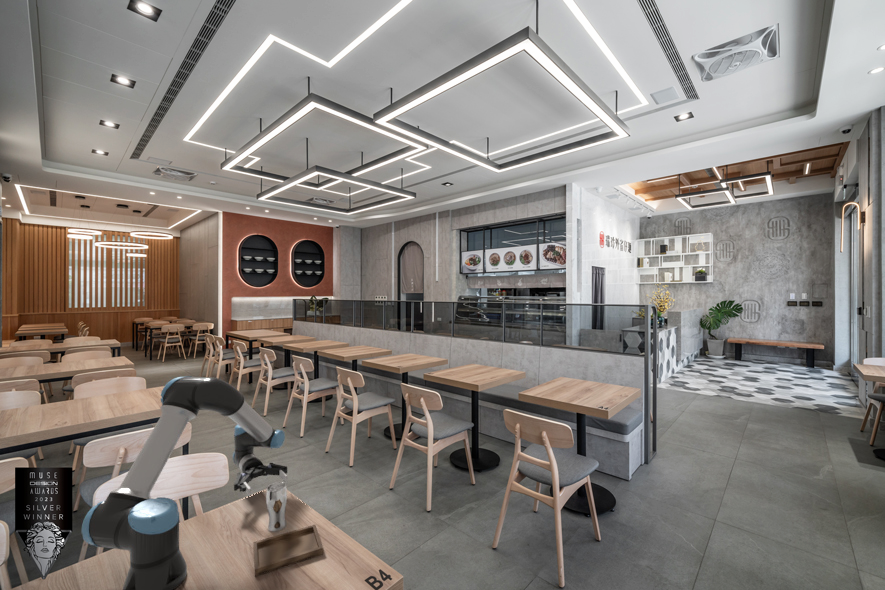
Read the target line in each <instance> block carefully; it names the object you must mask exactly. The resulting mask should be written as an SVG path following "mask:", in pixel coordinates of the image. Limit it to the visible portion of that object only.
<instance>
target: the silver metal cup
mask: <svg viewBox="0 0 885 590" xmlns="http://www.w3.org/2000/svg"><path fill="white" fill-rule="evenodd" d="M265 493H266V494H265V502H266V503H265V504H266V509H267V513H268V524H267V530H268V531H269V532H271V533H272V532H273V533H274V532H275V533H276V532H279V531H281V530H283V529H285V528H286V527H287V520H286V508H287V501H288V491H287V484H286V483H285V482H284V481H276V482H272V483H270V484H268V485H267V486H266V491H265Z"/></svg>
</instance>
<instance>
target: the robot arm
mask: <svg viewBox="0 0 885 590" xmlns="http://www.w3.org/2000/svg"><path fill="white" fill-rule="evenodd" d="M160 397H161V398H160V403H161V406H160V411H161V415H160V417H159V418H158V421H157V422H156V424H155V426H154V427H153V429H152V431H151V433H150V435H148V438H147V439H146V441H145V443H144V444H143V446H142V448H141V450H140V452H139V453H138V454H137V456H136V458H135V460H134V462H133V463H132V465H131V467H130V468H129V470H128V472H127V473H126V475H125V477H124V479H123V481H122V482H121V484H120V486H119V487H117V488H116V489H113V490H112V491H110V492H109V494H108V495H107V497H106V499H105V500H102V501H99V502H98V503H97V504H96V505H93V506H92V507H91V508H90V509H89V511H88V512H87V513H86V515H84V519H83V522H82V525H81V535H82V539H83V541H85V543H87V544H88V545H91V546H95V547H96V548H97V547H98V548H109V549H114V550H115V549H116V550H123V551H129V562H130V563H129V565H130V567H129V568H128V571H127V574H126V578H125V580H124V584H123V586H122V590H173V589H174V590H175V589H177V587H179V586H180V585H181V584H182V583H183V582H184V581H185V579H186V577H187V573H188V572H187V571H188V568H187V567H188V566H187V562H186V560H185V558H184V556H183V554H182V551H181V550H180V512H179V507H178V503H177V502H176V500H173V498H169V497H165V496H162V497H156V498H153V497H152V496H151V492H152V490H153V489H154V486H155V484H157V483H156V482H157V481H158V479H159V477H160V475H161V473H162V472H163V470H164V468H165V466H166V464H167V462H168V460H169V458H170V456H171V455H172V453H173V451H174V450H175V449H174V448H175V447H176V446H177V444H178V442H179V440H180V437H181V436H182V433H183V432H184V431H185V429H186V427H187V424H188V423H189V422H190V421H191V420H193V419H195V418H197V415H199V414H198V413H199V412H200V411H209V412H210V411H211V412H215V413H218V414H220V415H221V416H223V417H228V418H229V419H231V420H232V421H233V422H234V423H236V425H235V426H234V435H233V438H234V452H233V453H232V461H233V463H234V465H235V466H236V468H238V469H239V470H240V472H237V475H236V476H237V477H236V479H235V481H234V483H233V491H235V492H236V491H238V490H239V492H242V493H243V492H245V493H246V495H247V496H248V497H250V496H251V495H252V489H251V486H250V485H249V483H250V482H251V481H253V479H256V478H258V477H266V476H279V478H280V479H281V480H282V482H284V483H288V466H285V465H282V464H276V463H274V462H269V464H268V465H265V464H263V462H262V461H261V460H260V459H259V458H258V456H257V455H255V451H254V450H255V448H265V449H280V448H281V447H282V446H283V445H284V442H285V439H286V435H285V432H284V430H282V429H275V428H274V427H272V426H271V425H270V423H268V422H267V421H266V420H265V419H264V418H263V417H262V416H261V415H260V414H259V413H258V412H257V411H255V409H254V408H253V407H252V406H251V405H249V404H248V402H246V400H245V395H244V394H242V392H240V390H238V389H237V388H236V387H234V386H233V385H232V384H230V383H229V382H227V381H225V380H223V379H221V378H217V377H213V376H212V377H211V376H207V377H205V376H192V375H185V376H178V377H174V378H173V379H170V380H169V381H168V382H167V383H165V385H164V387H163V388H162V390H161V392H160Z"/></svg>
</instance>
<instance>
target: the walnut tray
mask: <svg viewBox="0 0 885 590" xmlns="http://www.w3.org/2000/svg"><path fill="white" fill-rule="evenodd" d="M252 544H253V563H254V577H258V576H261V575H265V574H267V573H270V572H273V571H277V570H280V569H283V568H285V567H289V566H292V565H295V564H298V563H301V562H304V561H308V560H311V559H313V558H315V557H320V556H323V555H324V552H323V551H324V547H323V545H322V541H321V538H320V535H319V532H318V528H317V524H312V525H309V526H306V527H301V528H298V529H294V530H292V531H289V532H288V531H287V532H283V533H281V534H277V535H274V536H270V537H267V538H263V539H260V540H257V541H253V543H252Z"/></svg>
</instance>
